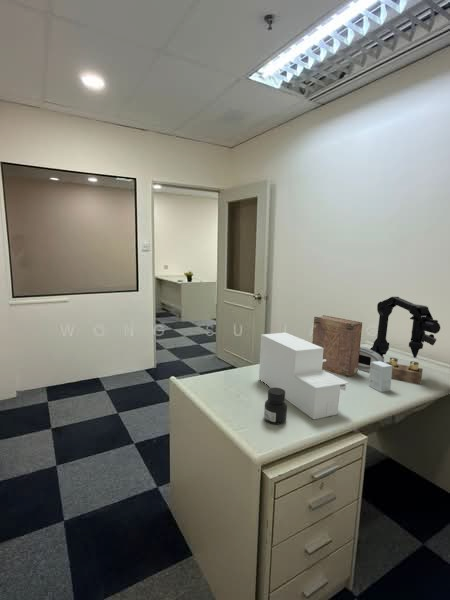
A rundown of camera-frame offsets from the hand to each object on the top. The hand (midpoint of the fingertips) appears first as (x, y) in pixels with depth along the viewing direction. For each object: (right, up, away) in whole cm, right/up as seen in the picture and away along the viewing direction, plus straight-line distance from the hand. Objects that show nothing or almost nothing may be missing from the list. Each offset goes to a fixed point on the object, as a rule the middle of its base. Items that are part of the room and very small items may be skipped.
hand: (415, 357), depth 173 cm
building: (-68, -14, -21) cm, 73 cm away
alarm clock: (-22, -10, +18) cm, 30 cm away
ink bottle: (-83, -17, -45) cm, 96 cm away
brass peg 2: (0, -9, +1) cm, 9 cm away
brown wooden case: (-39, -10, +16) cm, 43 cm away
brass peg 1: (-9, -8, +7) cm, 13 cm away
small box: (-25, -14, -11) cm, 30 cm away
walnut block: (-5, -12, +5) cm, 14 cm away
